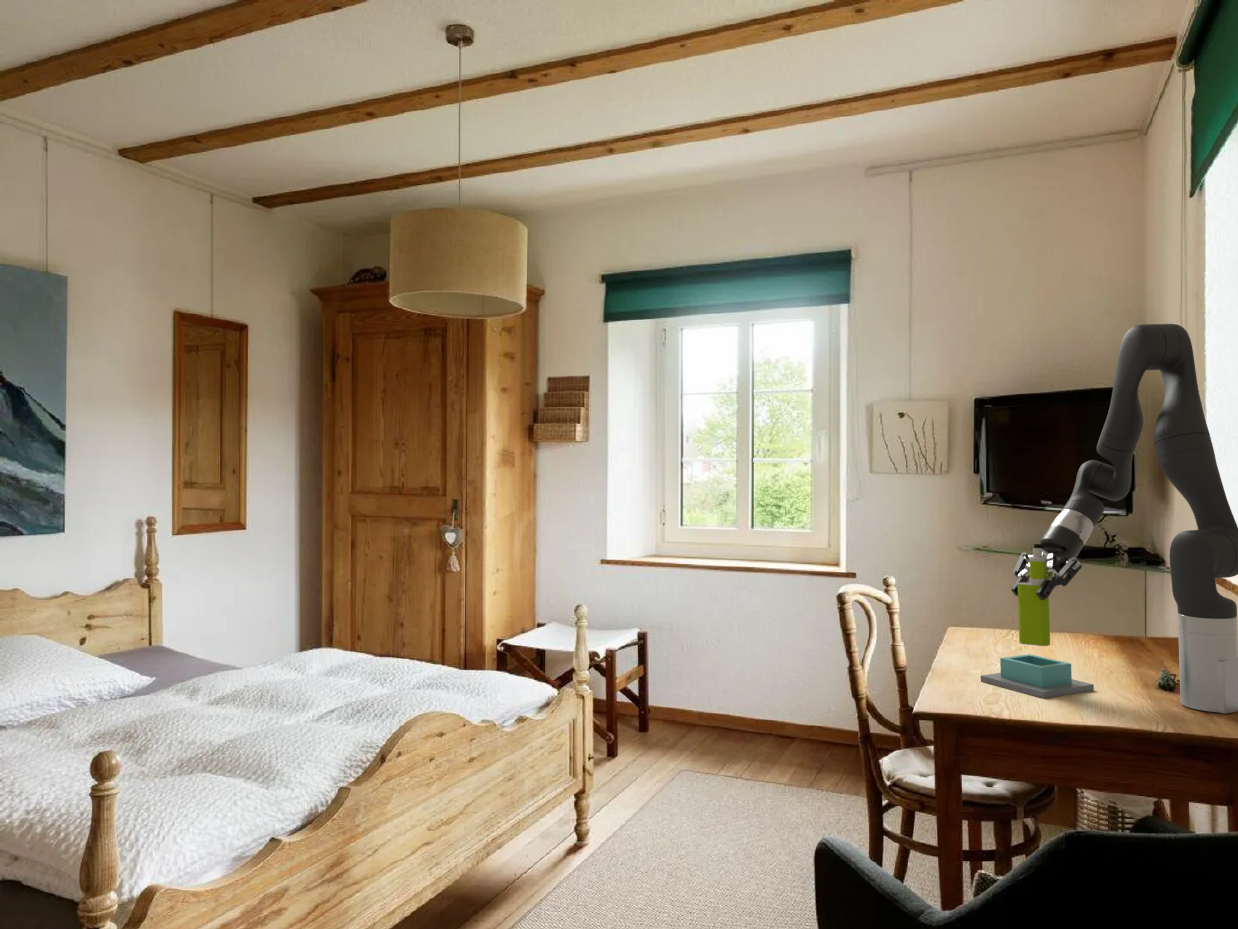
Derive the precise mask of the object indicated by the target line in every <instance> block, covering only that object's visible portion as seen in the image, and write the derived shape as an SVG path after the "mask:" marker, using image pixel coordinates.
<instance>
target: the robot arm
mask: <svg viewBox="0 0 1238 929" xmlns="http://www.w3.org/2000/svg"><path fill="white" fill-rule="evenodd" d="M1195 363H1196V362H1195V356H1194V350H1193V344H1192V340H1191V338H1190V334H1189V332H1188V331H1187V330H1186V328H1184V327H1183V326H1181V325H1179V324H1176V323H1156V324H1155V323H1153V324H1152V323H1151V324H1149V323H1147V324H1146V323H1144V324H1137V325H1134V326H1131V327H1130V328H1129V329H1128V330H1127V331H1126V333H1125V334H1124V336H1123V338H1122V340H1121V344H1120V347H1119V352H1118V356H1117V363H1116V369H1115V373H1114V379H1113V380H1114V381H1113V387H1112V393H1111V399H1110V404H1109V409H1108V413H1107V416H1106V419H1105V422H1104V424H1103V428H1102V430H1101V433H1100V436H1099V439H1098V442H1097V444H1096V452H1097V453H1098V454H1099V456H1101V457H1102V458H1104V459H1105V460H1107V461H1108V462H1110V464H1112V465H1110V464H1107V463H1104V462H1102V461H1098V460H1095V459H1091V460H1088V461H1087V460H1086V461H1085V462H1083V463H1082V464H1081V465H1080V467H1079V468H1078V471H1077V474H1076V479H1075V483H1074V487H1073V490H1072V493H1071V495H1070V498H1069V499H1068V500H1067V502H1066V503H1065V506H1063V508H1062V510H1061V512H1060V513H1059V514H1058V515H1057V516H1056V517H1055V518H1054V520H1053V521H1052V523H1051V524H1050V525H1049V527H1048V528H1047V530H1046V531H1045V533H1044V535H1043V536H1042V538H1041V539H1040V541H1039V544H1038V545H1039V546H1038V548H1041V549H1042V556H1043V557H1046V572H1047V580H1044V582H1043V583H1042V585H1041V587H1040V588H1039V590H1038V591H1037V593H1036V594H1037V596H1038V597H1039V598H1040V600H1045V599H1046V598H1047V597H1049V598H1050V595H1051V594H1052V592H1053V591H1054V590H1055V588H1057V587H1058V586H1062V587H1066V586H1067V585H1068V584H1069V583H1070V582H1071V581H1072V579H1073V578H1074V577H1075V576H1076V574H1078V572H1080V570H1081V569H1082V568H1083V565H1082V564H1081V562H1080V561H1079V560H1078V559H1077V557H1078V556H1079V554H1080V552H1081V551H1082V549H1083V547H1084V546H1085V544H1086V543H1087V541H1088V539H1090V537H1091V535H1092V532H1093V530H1094V528H1095V527H1096V525H1097V523H1098V522H1099V521H1100V519H1101V517H1102V515H1103V514H1104V512H1105V505H1104V503H1103V502H1102V501H1101V500H1100V499H1099V498H1098V497H1101V498H1103V499H1106V500H1109V501H1113V502H1117V501H1121V500H1122V499H1124V498H1126V497H1127V495H1128V493H1129V492H1130V490H1131V486H1132V470H1133V469H1132V465H1133V464H1132V463H1133V457H1134V453H1135V450H1136V448H1137V445H1138V442H1139V439H1140V437H1141V435H1142V432H1143V426H1144V415H1143V411H1142V406H1141V403H1140V399H1139V398H1140V397H1139V387H1140V383H1141V381H1142V377H1143V376H1144V374H1145V372H1146V371H1160V375H1161V377H1162V381H1163V387H1164V401H1163V404H1162V407H1161V410H1160V412H1159V414H1158V417H1157V419H1156V422H1155V425H1154V428H1153V432H1152V433H1153V443H1154V447H1155V452H1156V456H1157V459H1158V464H1159V466H1160V469H1161V471H1162V472H1163V474H1164V475H1165V477H1166V479H1168V481H1169V482H1170V483H1171V484H1172V486H1173V487H1174V488H1175V489H1176V490H1177V491H1178V493H1180V494H1181V496H1182V497H1183V498H1184V499H1185V501H1186V502H1187V504H1188V505H1189V507H1190V508H1191V511H1192V513H1193V516H1194V519H1195V523H1196V525H1197V526H1196V527H1197V529H1190V530H1189V529H1188V530H1183V531H1181V532H1179V533H1177V534H1176V535H1175V536H1174V538H1173V539H1172V541H1171V544H1170V548H1169V569H1170V578H1171V589H1172V591H1171V592H1172V597H1173V599H1174V601H1175V603H1176V606H1177V627H1178V628H1177V629H1178V631H1177V632H1178V661H1179V662H1178V664H1179V666H1178V667H1179V692H1180V693H1179V696H1180V701H1179V702H1180V704H1181V705H1182V706H1184V707H1186V708H1190V709H1192V710H1193V709H1194V710H1196V711H1197V710H1199V711H1205V712H1212V713H1220V714H1223V715H1225V714H1231V713H1237V712H1238V605H1237V603H1236V601H1235V600H1232V599H1231V598H1228V597H1226V596H1223V595H1222V594H1220V592H1219V591H1218V589H1217V588H1218V587H1217V582H1216V579H1223V578H1225V579H1226V578H1227V579H1228V578H1232V577H1233V578H1234V577H1236V576H1238V524H1237V522H1236V520H1235V517H1234V514H1233V512H1232V509H1231V506H1230V504H1229V501H1228V498H1227V495H1226V491H1225V488H1224V485H1223V481H1222V477H1221V475H1220V471H1219V467H1218V463H1217V459H1216V458H1217V457H1216V455H1215V454H1216V453H1215V450H1214V446H1213V442H1212V441H1213V440H1212V437H1211V433H1210V430H1209V427H1208V424H1207V421H1206V418H1205V414H1204V408H1203V404H1202V399H1201V395H1200V391H1199V385H1198V379H1197V378H1198V377H1197V371H1196V364H1195ZM1095 495H1096V496H1097V497H1096V496H1095ZM1030 556H1033V554H1027V553H1026V552H1021V554H1020V556H1019V558H1018V559H1017V562H1016V564H1015V565H1014V568H1013V571H1012V574H1014V576H1015V577H1016V578H1017V579H1015V582H1014V583H1013V585H1012V586H1011V592H1012V593H1013V594H1014V596H1016V597H1018V582H1030V574H1028V573H1030V561H1029V557H1030ZM1027 574H1028V575H1027ZM1026 575H1027V576H1026ZM1065 575H1066V576H1065Z"/></svg>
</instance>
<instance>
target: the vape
mask: <svg viewBox="0 0 1238 929" xmlns="http://www.w3.org/2000/svg"><path fill="white" fill-rule="evenodd" d="M1032 550H1033V554H1032V555H1033V556H1030V557H1029V561H1030V572H1029V575H1030V582H1018V596H1017V608H1018V610H1017V612H1018V613H1017V614H1018V642H1019V644H1020V645H1026V646H1027V645H1029V646H1037V647H1049V646H1051V632H1050V630H1051V628H1050V626H1051V625H1050V623H1051V622H1050V596H1049V597H1047V598H1046V599H1045V600H1040V598H1039V597H1038V596H1037V594H1036V593H1037V591H1038V590H1039V588H1040V587H1041V585H1042V583H1043V582H1044V580H1047V572H1046V557H1043V556H1042V549H1041V548H1039V547H1033V549H1032Z"/></svg>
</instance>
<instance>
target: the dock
mask: <svg viewBox="0 0 1238 929" xmlns="http://www.w3.org/2000/svg"><path fill="white" fill-rule="evenodd" d="M999 660H1000V662H999V663H1000V672H997V673H996V672H995V673H990V674H983V675H982V674H981V675H980V682H983V683H985V684H990V685H993V686H998V687H1001V688H1004V689H1008V690H1012V691H1015V692H1018V693H1022V694H1027V695H1030V696H1034V697H1036V698H1041V699H1048V698H1055V697H1060V696H1066V695H1072V694H1078V693H1079V694H1080V693H1085V692H1093V691H1094V690H1095V688H1094V684H1093V683H1090V682H1089V683H1088V682H1086V681H1082V680H1081V681H1080V680H1077V679H1073V678H1072V663H1071V662H1067V661H1061V660H1057V659H1053V658H1048V657H1044V656H1039V655H1034V654H1029V653H1028V654H1022V655H1020V654H1019V655H1013V656H1006V657H1000V659H999Z"/></svg>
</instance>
